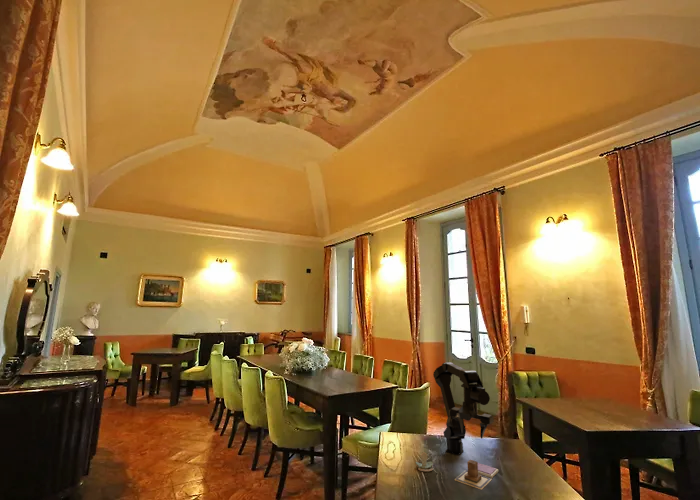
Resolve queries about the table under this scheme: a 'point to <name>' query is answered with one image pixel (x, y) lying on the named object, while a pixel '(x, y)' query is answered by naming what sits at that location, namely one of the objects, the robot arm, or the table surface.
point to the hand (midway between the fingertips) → (471, 435)
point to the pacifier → (425, 463)
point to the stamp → (472, 472)
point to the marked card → (479, 485)
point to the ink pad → (487, 470)
